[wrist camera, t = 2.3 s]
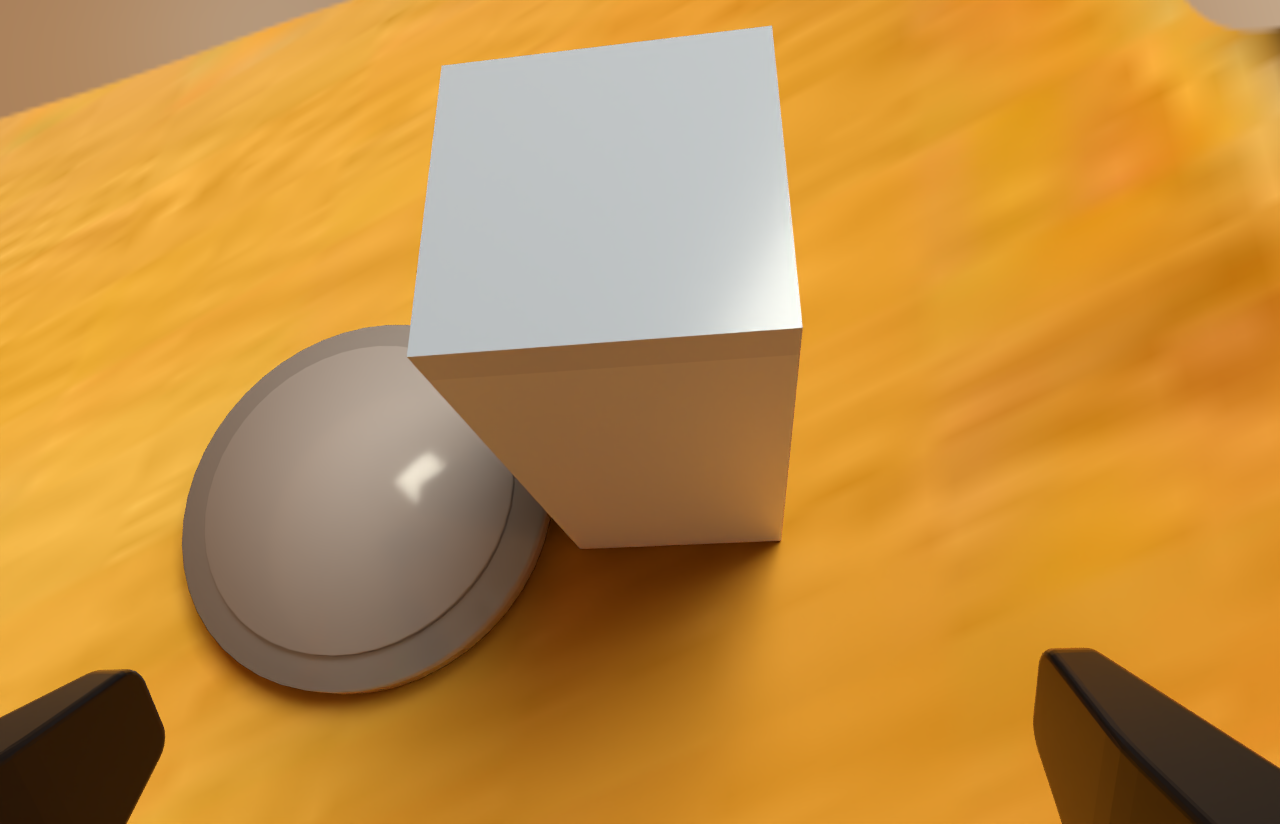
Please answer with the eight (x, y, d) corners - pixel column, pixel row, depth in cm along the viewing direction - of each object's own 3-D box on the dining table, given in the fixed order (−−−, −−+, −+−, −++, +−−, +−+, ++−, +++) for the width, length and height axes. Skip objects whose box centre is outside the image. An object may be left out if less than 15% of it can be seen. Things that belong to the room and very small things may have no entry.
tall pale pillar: (781, 540, 22) (803, 327, 11) (580, 549, 22) (406, 357, 11) (766, 357, 24) (771, 25, 13) (583, 370, 24) (441, 65, 14)
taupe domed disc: (264, 774, 21) (237, 775, 20) (163, 447, 26) (136, 434, 24) (620, 561, 22) (613, 551, 21) (463, 281, 26) (450, 261, 25)
